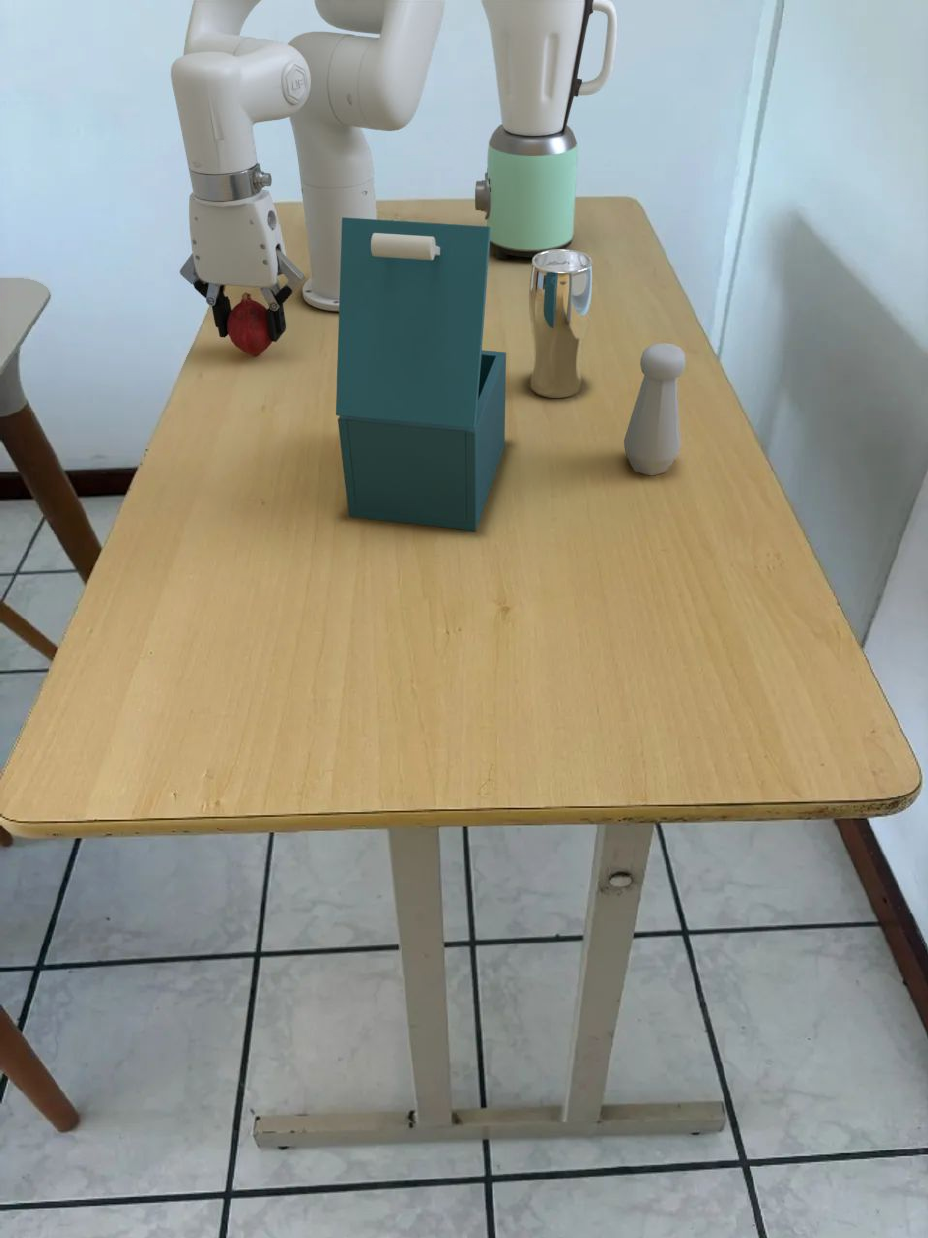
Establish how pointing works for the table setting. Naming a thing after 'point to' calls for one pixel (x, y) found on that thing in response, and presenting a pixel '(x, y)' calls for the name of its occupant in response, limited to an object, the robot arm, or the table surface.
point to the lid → (411, 320)
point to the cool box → (427, 461)
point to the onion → (249, 326)
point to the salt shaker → (656, 411)
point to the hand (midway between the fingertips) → (252, 333)
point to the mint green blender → (537, 120)
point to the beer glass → (559, 319)
